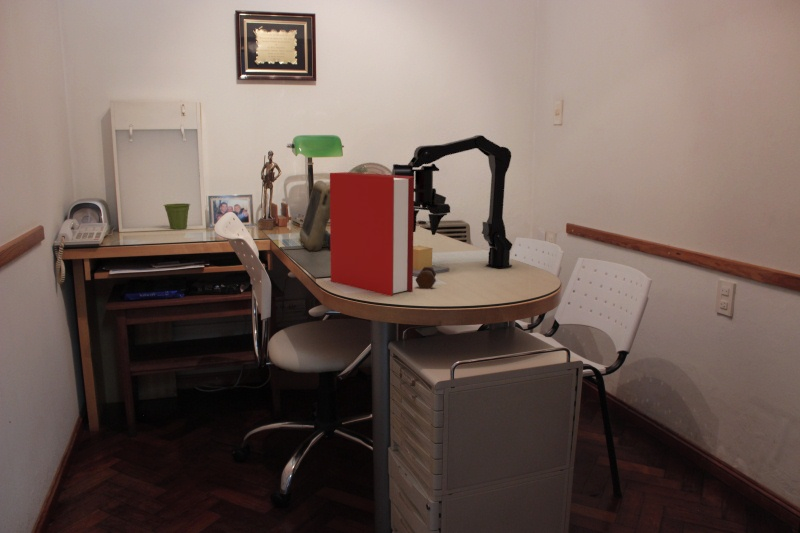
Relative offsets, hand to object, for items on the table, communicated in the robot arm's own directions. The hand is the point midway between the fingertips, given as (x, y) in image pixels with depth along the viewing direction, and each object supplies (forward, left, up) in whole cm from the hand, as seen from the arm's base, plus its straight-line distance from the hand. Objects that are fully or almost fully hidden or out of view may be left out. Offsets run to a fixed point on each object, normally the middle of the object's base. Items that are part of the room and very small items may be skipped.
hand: (423, 233), depth 211 cm
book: (-9, +30, -12) cm, 34 cm away
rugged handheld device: (+62, 0, -12) cm, 63 cm away
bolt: (-17, +14, -12) cm, 25 cm away
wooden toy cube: (-2, +4, -11) cm, 11 cm away
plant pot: (+141, +24, -12) cm, 144 cm away
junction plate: (-2, +4, -12) cm, 12 cm away
